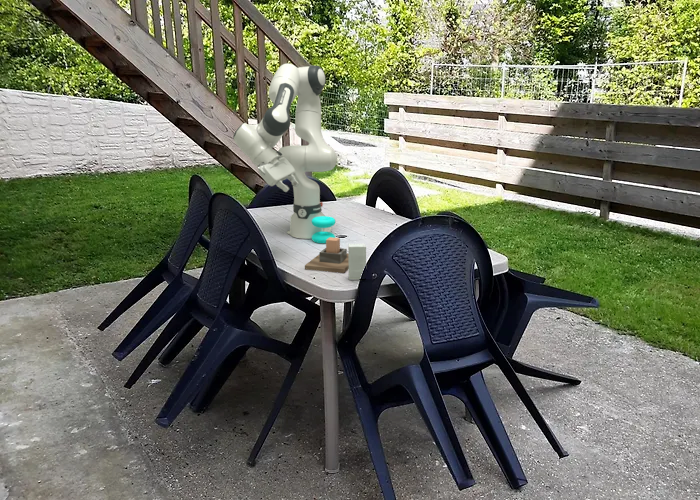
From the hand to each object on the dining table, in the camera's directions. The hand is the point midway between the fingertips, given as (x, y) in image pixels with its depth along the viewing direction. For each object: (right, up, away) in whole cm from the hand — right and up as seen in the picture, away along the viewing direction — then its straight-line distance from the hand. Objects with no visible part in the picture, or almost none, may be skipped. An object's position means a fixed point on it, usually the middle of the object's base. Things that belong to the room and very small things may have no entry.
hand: (292, 188), depth 238 cm
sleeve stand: (+15, -28, 0) cm, 32 cm away
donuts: (+10, -20, +32) cm, 39 cm away
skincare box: (+24, -33, -16) cm, 44 cm away
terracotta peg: (+15, -27, 0) cm, 31 cm away
